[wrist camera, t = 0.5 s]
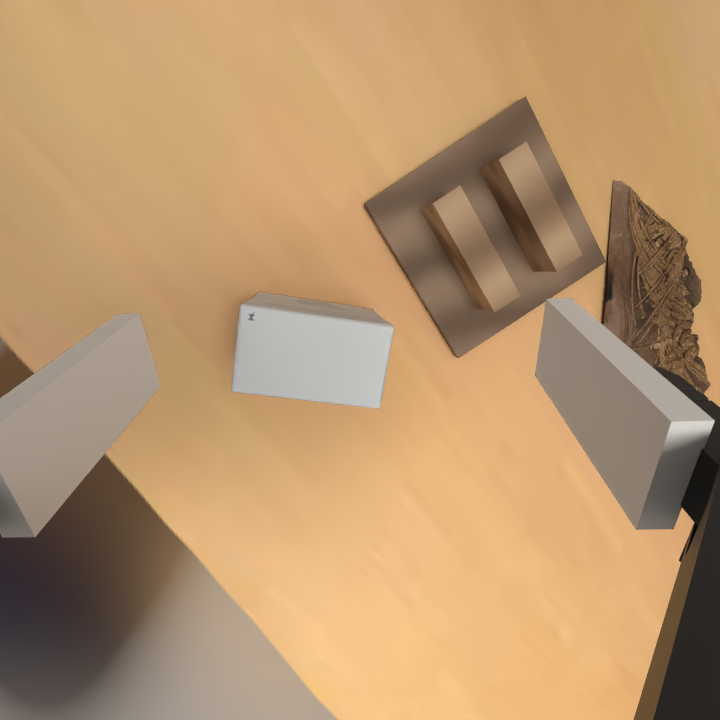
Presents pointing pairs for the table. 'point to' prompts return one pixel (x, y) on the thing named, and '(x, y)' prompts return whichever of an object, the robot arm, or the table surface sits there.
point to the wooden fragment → (652, 288)
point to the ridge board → (487, 229)
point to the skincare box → (311, 351)
